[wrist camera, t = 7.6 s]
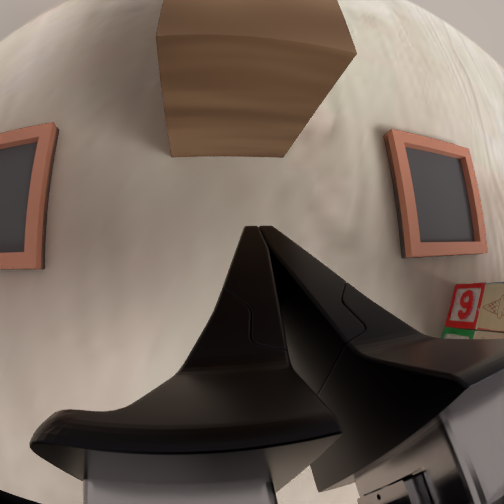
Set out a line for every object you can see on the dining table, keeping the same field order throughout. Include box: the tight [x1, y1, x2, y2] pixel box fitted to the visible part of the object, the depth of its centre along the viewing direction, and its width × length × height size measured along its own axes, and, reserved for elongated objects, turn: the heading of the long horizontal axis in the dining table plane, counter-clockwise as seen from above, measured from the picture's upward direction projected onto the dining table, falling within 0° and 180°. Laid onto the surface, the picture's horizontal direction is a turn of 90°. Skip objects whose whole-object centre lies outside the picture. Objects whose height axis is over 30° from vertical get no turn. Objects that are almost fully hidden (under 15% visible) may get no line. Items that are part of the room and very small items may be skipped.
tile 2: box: [384, 129, 487, 258], centre depth 18 cm, size 8×8×1 cm
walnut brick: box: [156, 0, 357, 158], centre depth 12 cm, size 14×6×9 cm, turn 3°
